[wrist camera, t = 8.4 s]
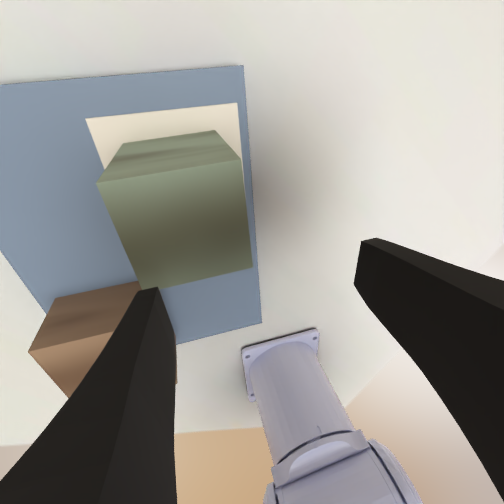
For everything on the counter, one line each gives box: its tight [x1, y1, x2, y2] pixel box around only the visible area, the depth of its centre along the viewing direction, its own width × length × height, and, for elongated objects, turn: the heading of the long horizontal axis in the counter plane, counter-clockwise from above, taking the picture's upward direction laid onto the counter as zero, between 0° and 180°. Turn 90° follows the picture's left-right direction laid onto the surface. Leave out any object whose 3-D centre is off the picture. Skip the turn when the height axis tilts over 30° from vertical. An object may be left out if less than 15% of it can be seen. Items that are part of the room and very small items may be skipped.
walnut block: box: [28, 281, 177, 398], centre depth 17 cm, size 6×6×4 cm
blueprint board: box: [0, 65, 262, 345], centre depth 17 cm, size 18×14×1 cm
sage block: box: [96, 130, 253, 290], centre depth 12 cm, size 4×4×6 cm
